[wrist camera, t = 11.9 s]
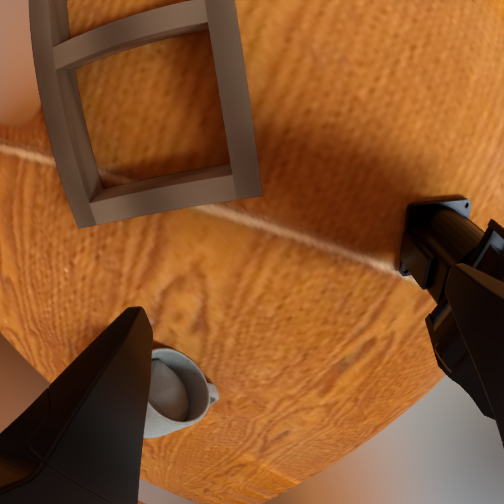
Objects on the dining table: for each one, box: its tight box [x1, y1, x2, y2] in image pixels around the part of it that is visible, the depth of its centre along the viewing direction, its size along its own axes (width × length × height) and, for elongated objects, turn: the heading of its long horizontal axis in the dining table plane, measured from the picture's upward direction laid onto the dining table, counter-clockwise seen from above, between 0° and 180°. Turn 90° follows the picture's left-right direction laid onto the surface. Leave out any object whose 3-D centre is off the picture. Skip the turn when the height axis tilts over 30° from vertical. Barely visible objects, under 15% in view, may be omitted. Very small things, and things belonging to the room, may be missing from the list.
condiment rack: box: [29, 0, 263, 229], centre depth 13 cm, size 12×22×2 cm, turn 8°
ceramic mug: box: [143, 348, 219, 438], centre depth 27 cm, size 11×8×8 cm
